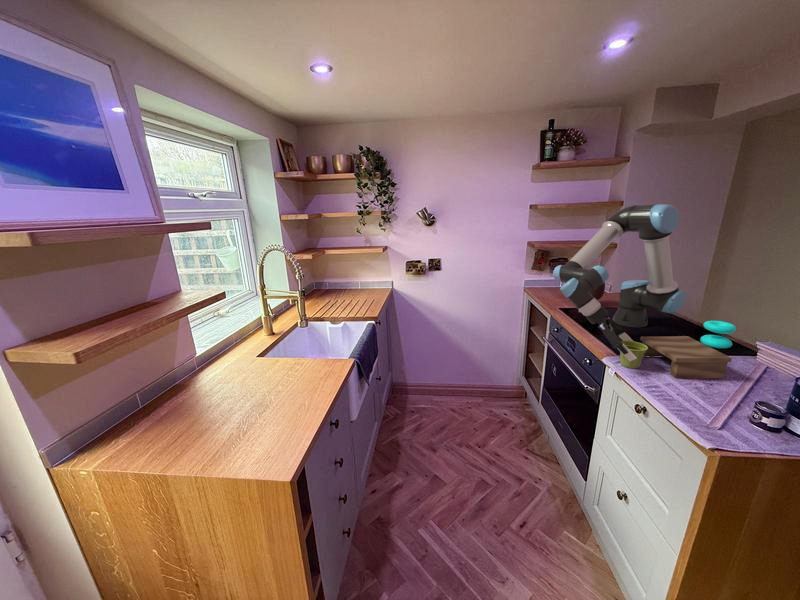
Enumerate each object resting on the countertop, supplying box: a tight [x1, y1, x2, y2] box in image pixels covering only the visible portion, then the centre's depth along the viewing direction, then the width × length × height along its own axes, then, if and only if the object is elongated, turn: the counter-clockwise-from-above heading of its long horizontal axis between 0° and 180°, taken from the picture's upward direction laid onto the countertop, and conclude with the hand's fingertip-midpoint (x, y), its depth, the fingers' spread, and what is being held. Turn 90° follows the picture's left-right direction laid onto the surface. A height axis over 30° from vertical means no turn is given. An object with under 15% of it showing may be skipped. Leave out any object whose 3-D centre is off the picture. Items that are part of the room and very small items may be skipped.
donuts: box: [699, 320, 737, 349], centre depth 136 cm, size 10×10×10 cm
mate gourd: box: [591, 281, 606, 301], centre depth 195 cm, size 16×14×20 cm
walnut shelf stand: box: [640, 335, 733, 379], centre depth 122 cm, size 20×18×8 cm
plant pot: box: [619, 340, 648, 369], centre depth 124 cm, size 9×9×9 cm
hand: (633, 352), depth 123 cm, fingers open, 13 cm apart
